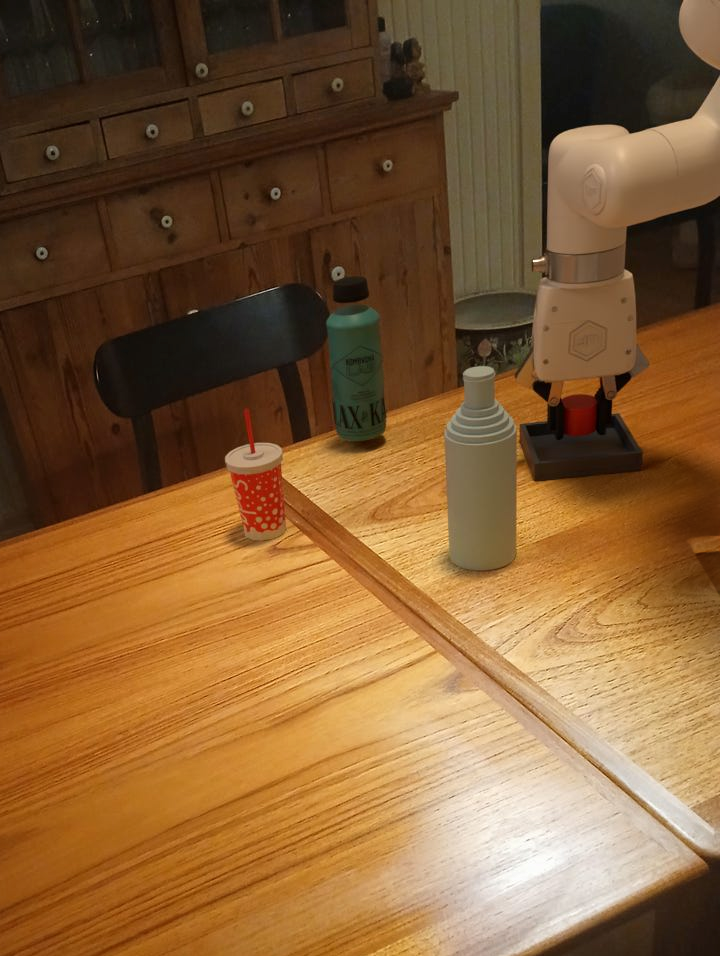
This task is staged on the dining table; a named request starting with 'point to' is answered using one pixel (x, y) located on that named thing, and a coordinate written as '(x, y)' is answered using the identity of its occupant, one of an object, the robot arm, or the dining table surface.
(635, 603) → the dining table surface
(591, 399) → the cap
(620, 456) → the dish
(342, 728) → the dining table surface
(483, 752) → the dining table surface
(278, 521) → the beverage cup
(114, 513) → the dining table surface
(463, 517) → the water bottle
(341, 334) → the beverage bottle
